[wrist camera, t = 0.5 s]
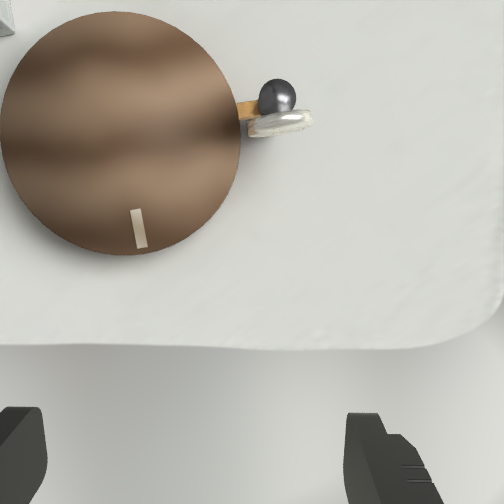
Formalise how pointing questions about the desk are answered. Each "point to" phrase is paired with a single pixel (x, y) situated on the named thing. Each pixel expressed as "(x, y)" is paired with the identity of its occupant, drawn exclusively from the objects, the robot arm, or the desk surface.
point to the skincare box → (6, 18)
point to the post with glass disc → (274, 111)
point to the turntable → (120, 133)
